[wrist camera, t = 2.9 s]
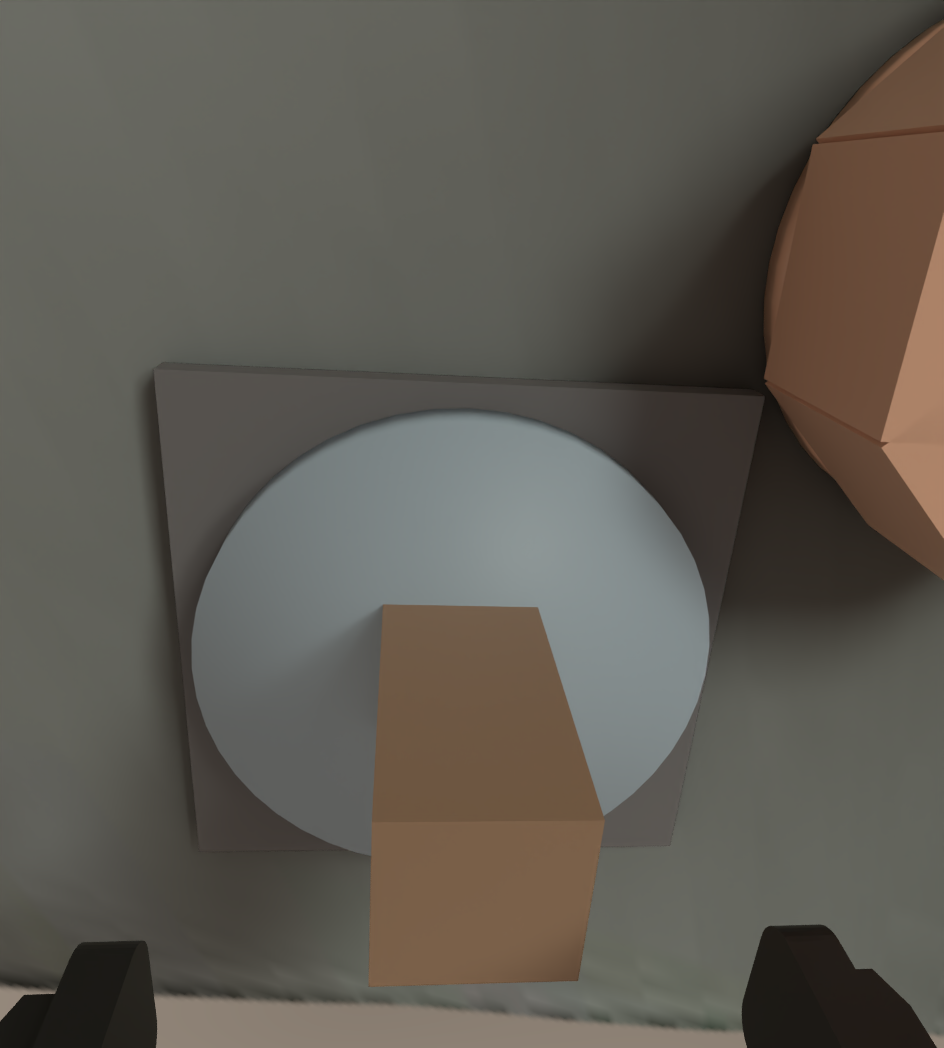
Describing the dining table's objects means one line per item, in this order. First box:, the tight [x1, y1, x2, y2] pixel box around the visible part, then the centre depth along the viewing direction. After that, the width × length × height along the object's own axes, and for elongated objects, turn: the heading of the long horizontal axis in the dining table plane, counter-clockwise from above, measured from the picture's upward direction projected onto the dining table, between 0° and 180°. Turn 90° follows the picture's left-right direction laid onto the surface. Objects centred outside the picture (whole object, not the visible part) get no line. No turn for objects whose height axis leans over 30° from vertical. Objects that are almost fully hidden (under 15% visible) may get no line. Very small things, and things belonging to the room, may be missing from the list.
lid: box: [192, 408, 709, 987], centre depth 15 cm, size 11×11×7 cm
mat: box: [153, 363, 765, 852], centre depth 18 cm, size 12×12×1 cm
